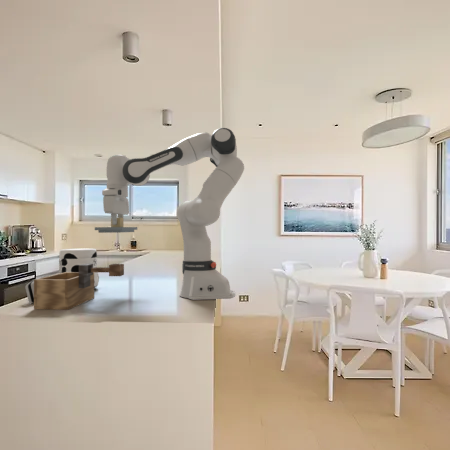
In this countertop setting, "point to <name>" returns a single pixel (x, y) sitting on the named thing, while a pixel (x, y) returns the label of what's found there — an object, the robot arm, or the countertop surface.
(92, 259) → the milk container
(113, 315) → the countertop surface
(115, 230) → the lid
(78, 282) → the box
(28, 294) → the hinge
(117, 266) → the wooden mallet
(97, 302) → the countertop surface
